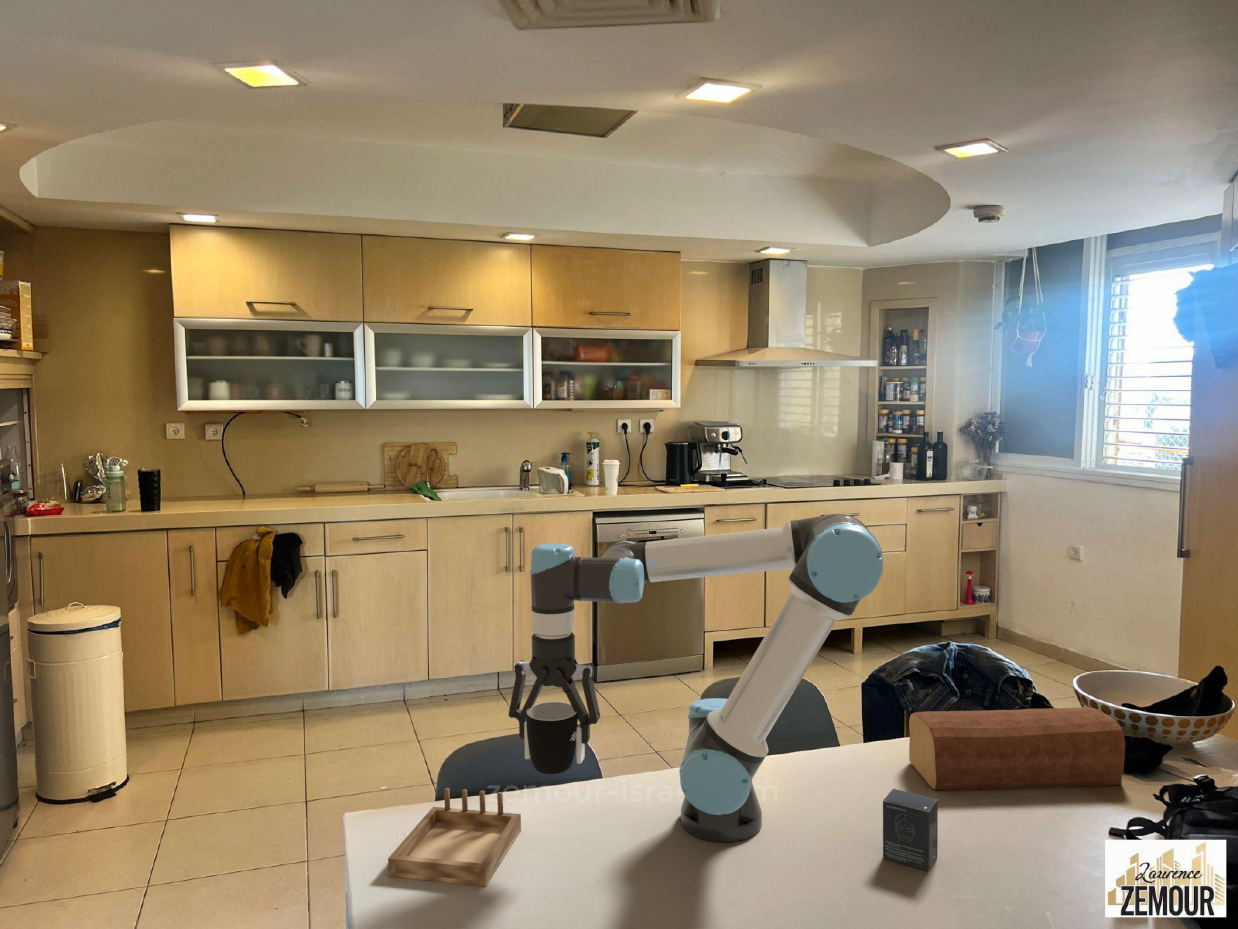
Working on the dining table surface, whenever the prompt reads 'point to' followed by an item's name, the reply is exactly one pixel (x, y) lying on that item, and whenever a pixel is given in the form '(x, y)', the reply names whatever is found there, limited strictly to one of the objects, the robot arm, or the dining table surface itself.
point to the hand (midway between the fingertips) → (554, 758)
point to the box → (910, 829)
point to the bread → (1016, 748)
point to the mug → (551, 736)
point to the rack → (456, 844)
